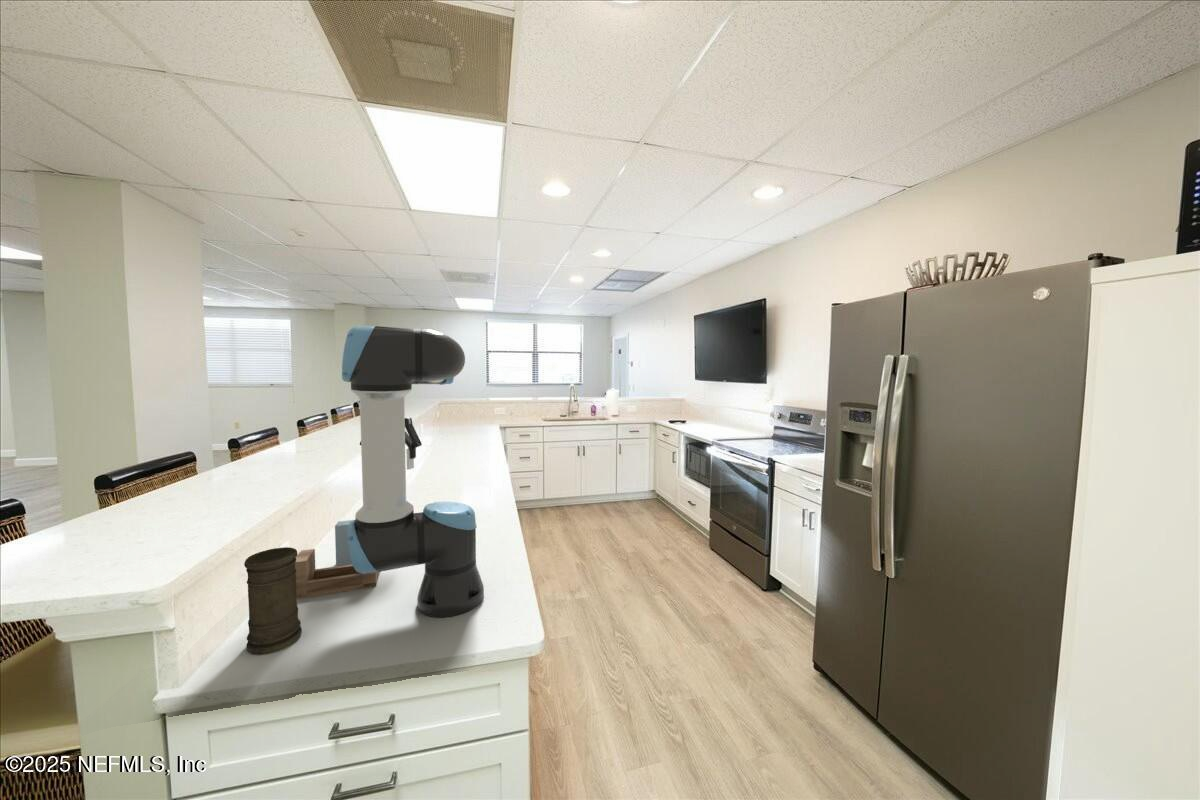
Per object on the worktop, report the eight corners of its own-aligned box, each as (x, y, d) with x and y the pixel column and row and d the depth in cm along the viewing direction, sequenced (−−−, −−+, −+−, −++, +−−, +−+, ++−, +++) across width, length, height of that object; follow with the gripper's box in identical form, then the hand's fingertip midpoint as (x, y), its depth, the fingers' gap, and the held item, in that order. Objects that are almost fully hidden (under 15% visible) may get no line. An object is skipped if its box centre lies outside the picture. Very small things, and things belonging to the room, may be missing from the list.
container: (291, 651, 82) (288, 561, 81) (236, 659, 79) (232, 567, 78) (309, 625, 90) (306, 543, 89) (259, 632, 88) (256, 548, 87)
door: (368, 563, 121) (367, 522, 120) (336, 567, 118) (334, 526, 117) (370, 557, 124) (369, 518, 124) (339, 561, 122) (338, 521, 121)
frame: (375, 586, 107) (375, 551, 107) (292, 599, 101) (291, 562, 100) (379, 572, 115) (379, 540, 114) (302, 584, 108) (301, 550, 108)
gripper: (432, 402, 135) (433, 466, 136) (363, 401, 139) (364, 464, 140) (418, 403, 128) (419, 471, 129) (346, 402, 132) (347, 469, 133)
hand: (391, 468), depth 135 cm, fingers open, 13 cm apart
